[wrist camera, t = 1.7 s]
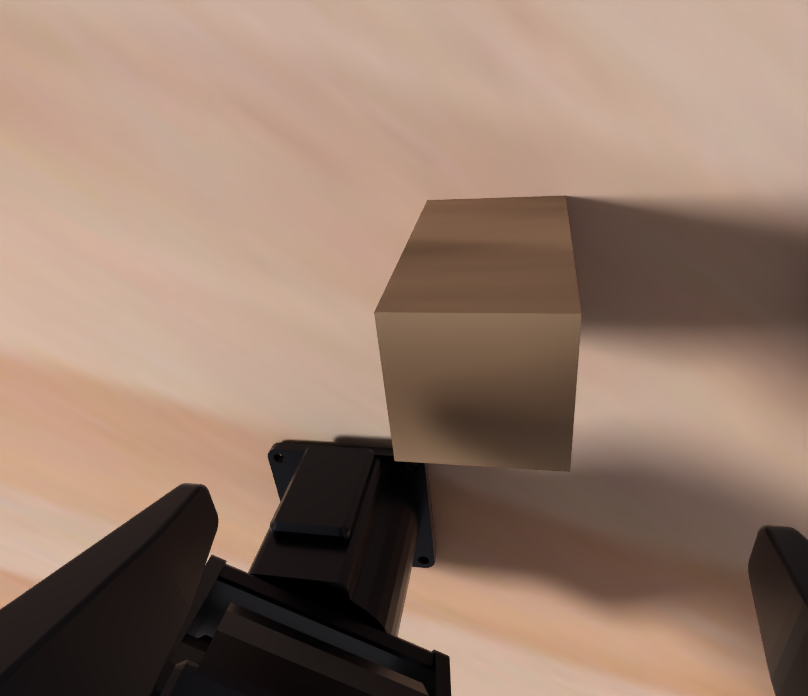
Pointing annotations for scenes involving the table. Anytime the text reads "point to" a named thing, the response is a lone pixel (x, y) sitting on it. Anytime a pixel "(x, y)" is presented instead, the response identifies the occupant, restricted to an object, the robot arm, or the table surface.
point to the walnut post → (483, 335)
